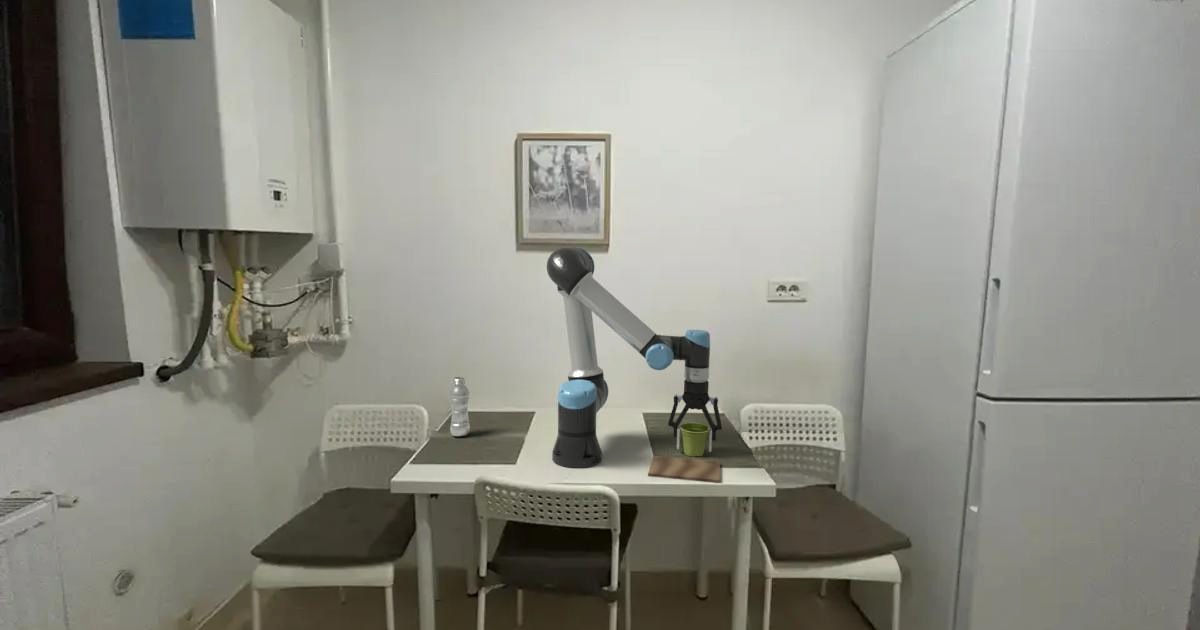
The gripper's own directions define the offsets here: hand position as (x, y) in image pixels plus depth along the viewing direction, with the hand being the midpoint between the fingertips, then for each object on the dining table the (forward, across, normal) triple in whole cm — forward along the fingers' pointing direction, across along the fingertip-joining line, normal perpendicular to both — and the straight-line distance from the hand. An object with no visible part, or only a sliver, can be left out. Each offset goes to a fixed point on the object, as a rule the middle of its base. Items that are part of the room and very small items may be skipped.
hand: (694, 448), depth 180 cm
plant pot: (+2, 0, 0) cm, 2 cm away
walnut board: (+2, -2, -14) cm, 14 cm away
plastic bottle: (+2, -79, -2) cm, 79 cm away
